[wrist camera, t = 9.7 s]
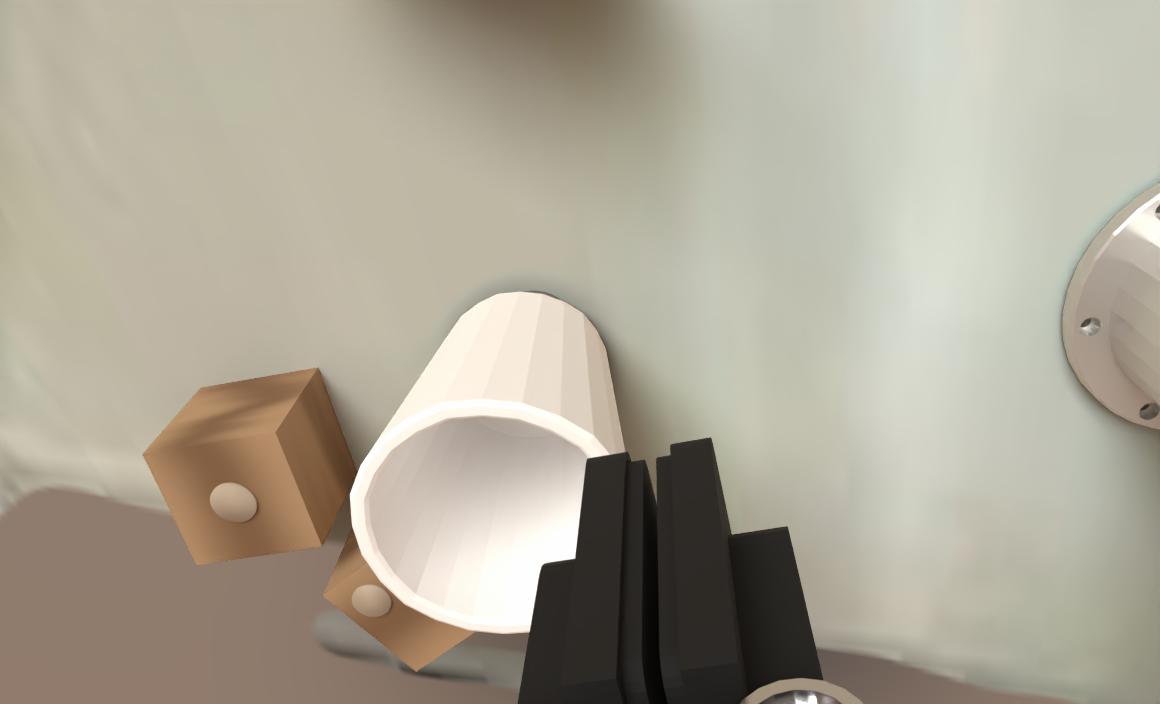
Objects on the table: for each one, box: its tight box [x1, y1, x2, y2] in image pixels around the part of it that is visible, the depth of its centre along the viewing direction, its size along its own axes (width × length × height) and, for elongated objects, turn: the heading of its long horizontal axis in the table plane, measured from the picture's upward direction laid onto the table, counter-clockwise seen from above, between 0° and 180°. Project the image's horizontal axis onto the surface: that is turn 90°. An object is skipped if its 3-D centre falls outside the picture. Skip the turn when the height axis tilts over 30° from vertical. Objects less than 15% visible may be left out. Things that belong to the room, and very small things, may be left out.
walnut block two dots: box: [323, 527, 476, 671], centre depth 44 cm, size 6×6×6 cm
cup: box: [350, 291, 625, 634], centre depth 36 cm, size 10×10×13 cm
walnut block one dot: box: [143, 368, 357, 565], centre depth 41 cm, size 6×6×6 cm
